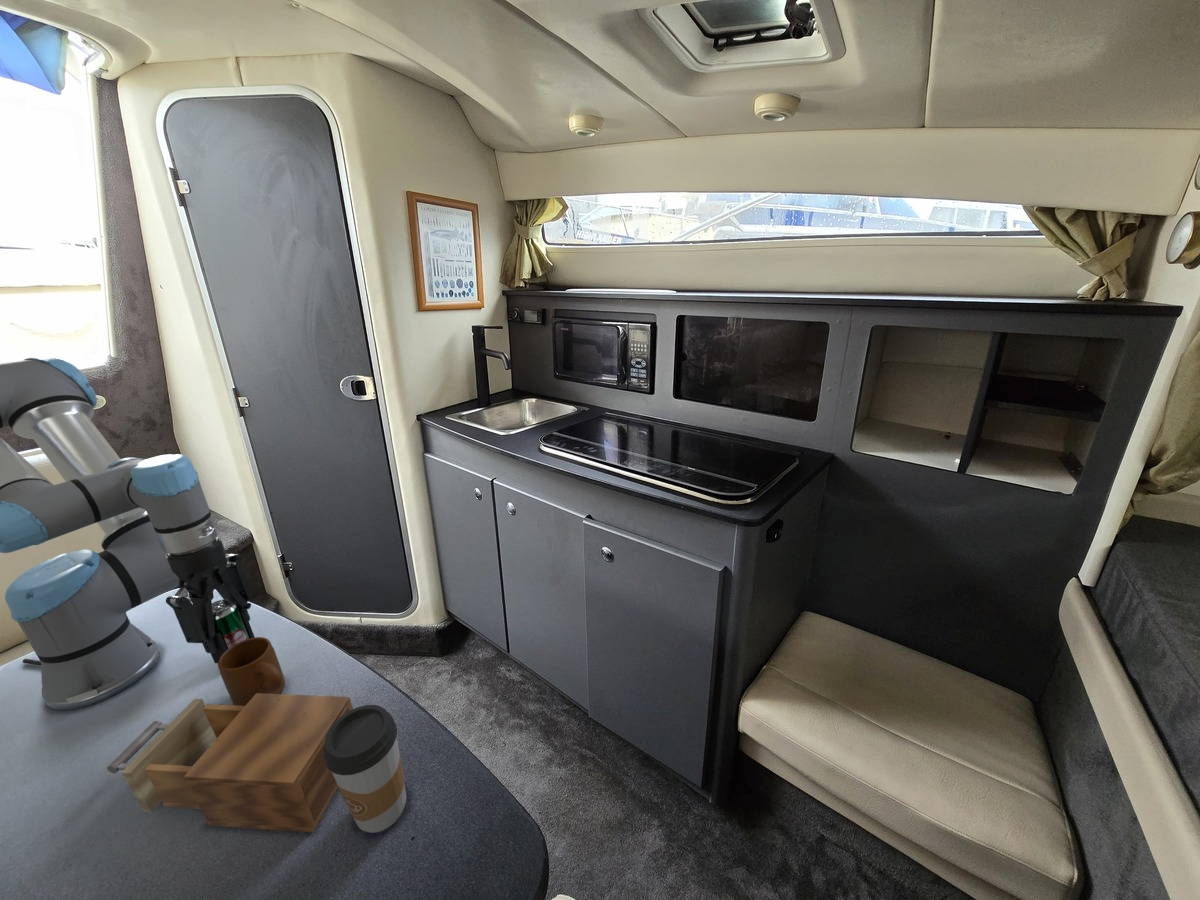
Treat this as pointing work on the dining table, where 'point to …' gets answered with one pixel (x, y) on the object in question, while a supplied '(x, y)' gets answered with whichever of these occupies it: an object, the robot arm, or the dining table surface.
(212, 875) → the dining table surface
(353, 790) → the coffee cup
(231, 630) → the soda can
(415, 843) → the dining table surface
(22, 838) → the dining table surface
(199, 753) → the drawer
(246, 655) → the mug
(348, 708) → the cabinet
